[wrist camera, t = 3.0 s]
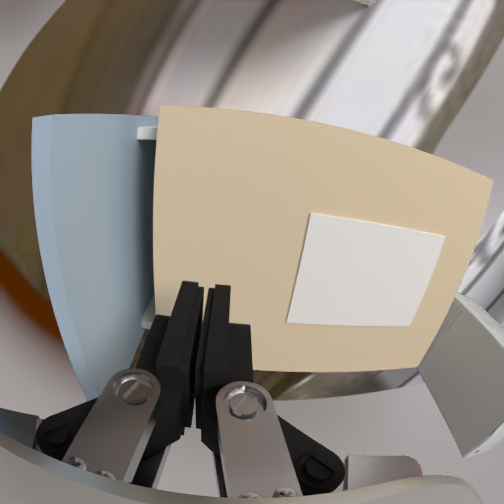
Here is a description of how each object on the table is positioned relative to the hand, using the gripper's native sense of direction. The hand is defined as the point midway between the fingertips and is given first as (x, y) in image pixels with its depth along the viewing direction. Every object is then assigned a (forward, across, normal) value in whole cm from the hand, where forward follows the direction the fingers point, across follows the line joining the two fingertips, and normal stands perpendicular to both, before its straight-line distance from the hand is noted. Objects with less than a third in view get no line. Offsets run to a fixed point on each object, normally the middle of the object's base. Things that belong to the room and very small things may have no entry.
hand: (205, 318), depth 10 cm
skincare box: (+11, -23, +8) cm, 27 cm away
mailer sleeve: (+11, -6, 0) cm, 12 cm away
